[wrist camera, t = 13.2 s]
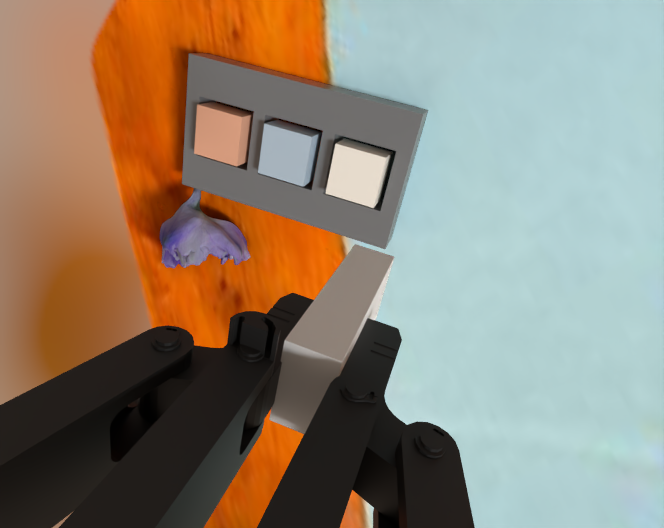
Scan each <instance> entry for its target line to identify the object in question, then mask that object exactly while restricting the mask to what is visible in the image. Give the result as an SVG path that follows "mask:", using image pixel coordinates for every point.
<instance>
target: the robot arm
mask: <svg viewBox="0 0 664 528" xmlns="http://www.w3.org/2000/svg"><path fill="white" fill-rule="evenodd" d="M393 260H394V257H393V256H390V255H387V254H384V253H381V252H378V251H375V250H372V249H369V248H365V247H362V246H359V245H356V244H355V245H354V247H353V248H352V249H351V251H350V252H349V253H348V255H347V256H346V257H345V259H344V260H343V262H342V263H341V264H340V266H339V267H338V268H337V270H336V271H335V272H334V274H333V275H332V276H331V278H330V279H329V281H328V282H327V283H326V285H325V286H324V287H323V289H322V290H321V291H320V293H319V294H318V295H317V297H316V298H315V300H312V299H309V298H306V297H304V296H301V295H298V294H295V293H291V294H289V295H286V296H284V297H282V298H280V299H279V300H278V301H277V303H276V304H275V305H274V306H273V308H271V309H270V310H269V312H268V313H267V314H265V313H260V312H256V311H246V312H242V313H238V314H236V315H234V316H233V317H231V318H230V327H229V335H228V343H227V345H226V346H225V347H224V348H209V347H202V346H194V340H193V337H192V335H191V334H190V333H189V332H188V331H187V330H184V329H182V328H179V327H174V326H160V327H156V328H153V329H150V330H147V331H145V332H143V333H142V334H140V335H138V336H136V337H134V338H132V339H130V340H128V341H126V342H124V343H122V344H120V345H118V346H116V347H114V348H112V349H110V350H108V351H106V352H104V353H102V354H100V355H98V356H96V357H94V358H92V359H90V360H89V361H86V362H84V363H82V364H80V365H78V366H77V367H75V368H73V369H71V370H69V371H67V372H65V373H63V374H61V375H59V376H57V377H55V378H53V379H51V380H49V381H47V382H45V383H43V384H41V385H39V386H37V387H35V388H33V389H31V390H29V391H27V392H26V393H23V394H21V395H20V396H17V397H15V398H14V399H12V400H10V401H8V402H6V403H4V404H2V405H0V528H52V527H53V526H55V525H56V524H57V523H59V522H60V521H61V520H62V519H64V518H65V517H66V516H68V515H69V514H70V513H72V512H73V511H74V510H75V511H74V512H73V513H72V514H71V515H70V516H69V517H68V518H67V519H66V520H65V522H64V523H63V524H62V525H61V526H60V527H59V528H203V527H204V526H205V524H206V522H207V521H208V519H209V518H210V516H211V514H212V513H213V511H214V509H215V508H216V506H217V505H218V503H219V501H220V500H221V498H222V496H223V495H224V493H225V492H226V490H227V488H228V487H229V485H230V483H231V482H232V480H233V478H234V477H235V475H236V474H237V472H238V470H239V469H240V467H241V465H242V464H243V462H244V461H245V459H246V457H247V456H248V454H249V452H250V451H251V449H252V447H253V446H254V444H255V443H256V441H257V439H258V438H259V436H260V434H261V432H262V428H263V424H264V418H265V417H266V415H267V414H268V412H269V411H270V409H271V407H272V409H271V414H270V419H269V420H271V421H274V422H276V423H279V424H281V425H283V426H286V427H288V428H291V429H293V430H296V431H298V432H300V433H303V434H304V436H303V438H302V440H301V442H300V444H299V446H298V448H297V450H296V452H295V454H294V456H293V458H292V460H291V462H290V464H289V466H288V468H287V470H286V471H285V473H284V475H283V477H282V479H281V481H280V483H279V485H278V487H277V489H276V491H275V493H274V495H273V497H272V499H271V501H270V503H269V505H268V507H267V509H266V511H265V513H264V515H263V517H262V519H261V521H260V523H259V525H258V527H257V528H339V527H340V524H341V521H342V518H343V515H344V512H345V509H346V506H347V503H348V501H349V498H350V495H351V492H352V490H353V491H355V492H356V493H357V494H358V495H359V496H361V497H362V498H363V499H364V500H365V501H367V502H368V503H369V504H370V505H371V506H373V507H374V511H373V528H474V523H473V518H472V513H471V508H470V503H469V498H468V493H467V488H466V483H465V478H464V473H463V468H462V463H461V458H460V453H459V449H458V447H457V445H456V442H455V441H454V439H453V438H452V437H451V436H450V435H449V434H448V433H447V432H446V431H444V430H443V429H441V428H440V427H439V426H436V425H433V424H431V423H428V422H415V423H412V424H409V425H406V424H405V423H403V422H402V421H400V420H399V419H398V418H397V417H396V416H394V415H393V414H392V412H391V411H390V410H389V409H388V407H387V405H386V403H385V398H384V394H385V389H386V386H387V383H388V380H389V377H390V374H391V371H392V368H393V365H394V362H395V359H396V356H397V353H398V350H399V347H400V344H401V341H402V339H401V336H400V333H399V330H398V329H397V328H395V327H392V326H389V325H386V324H383V323H380V322H378V321H375V320H376V317H377V314H378V311H379V307H380V304H381V301H382V297H383V294H384V290H385V287H386V284H387V280H388V277H389V274H390V270H391V267H392V264H393Z"/></svg>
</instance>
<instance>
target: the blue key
mask: <svg viewBox="0 0 664 528" xmlns="http://www.w3.org/2000/svg"><path fill="white" fill-rule="evenodd" d="M321 136H322V132H319V131H316V130H312V129H308V128H305V127H301V126H298V125H294V124H291V123H287V122H283V121H280V120H274V121H271V122H268V123H264V130H263V137H262V145H261V153H260V160H259V168H258V173H260V174H263V175H267V176H270V177H273V178H276V179H280V180H283V181H286V182H289V183H293V184H296V185H299V186H305V185H306V184H308V183H309V182H311V181H312V180H313V178H314V173H315V168H316V162H317V157H318V152H319V146H320V141H321Z"/></svg>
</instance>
